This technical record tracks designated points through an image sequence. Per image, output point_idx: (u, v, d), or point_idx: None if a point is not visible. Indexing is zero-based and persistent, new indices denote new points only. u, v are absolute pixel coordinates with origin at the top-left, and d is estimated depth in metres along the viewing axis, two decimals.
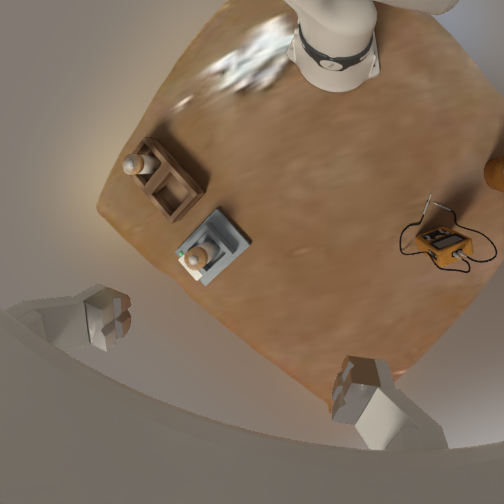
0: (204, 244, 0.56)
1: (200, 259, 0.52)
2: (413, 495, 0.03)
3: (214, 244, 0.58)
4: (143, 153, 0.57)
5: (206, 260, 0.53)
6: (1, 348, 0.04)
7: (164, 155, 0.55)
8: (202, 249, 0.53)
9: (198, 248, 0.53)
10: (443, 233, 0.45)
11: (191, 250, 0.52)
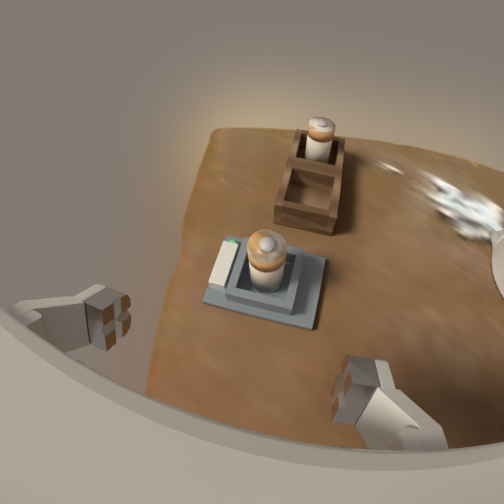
0: None
1: (276, 255, 0.29)
2: (413, 495, 0.03)
3: None
4: None
5: (275, 267, 0.29)
6: (1, 348, 0.04)
7: None
8: None
9: None
10: None
11: (279, 235, 0.30)
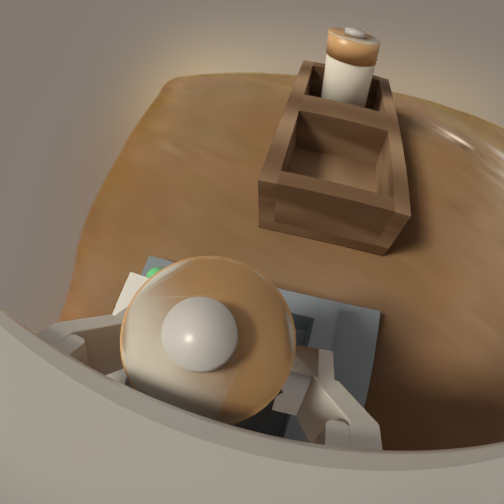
0: None
1: (242, 387, 0.06)
2: (413, 495, 0.03)
3: None
4: None
5: None
6: (1, 348, 0.04)
7: None
8: None
9: None
10: None
11: (261, 285, 0.07)
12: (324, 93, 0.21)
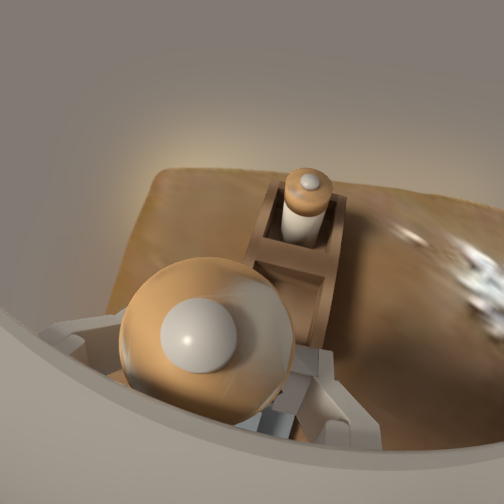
0: None
1: (241, 389, 0.06)
2: (413, 495, 0.03)
3: None
4: None
5: None
6: (1, 348, 0.04)
7: None
8: None
9: None
10: None
11: (261, 287, 0.07)
12: (282, 226, 0.29)
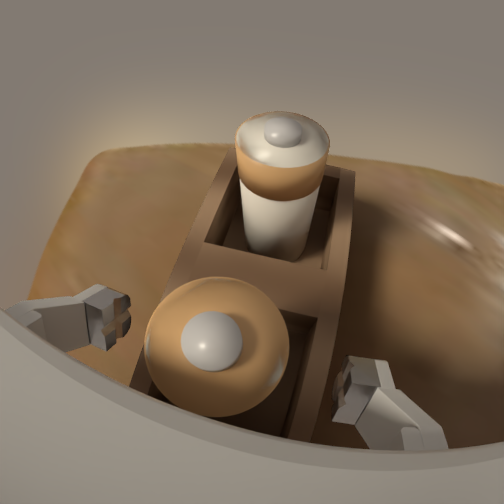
0: None
1: (246, 383, 0.07)
2: (413, 495, 0.03)
3: None
4: None
5: None
6: (1, 348, 0.04)
7: None
8: None
9: None
10: None
11: (261, 301, 0.08)
12: (244, 221, 0.16)
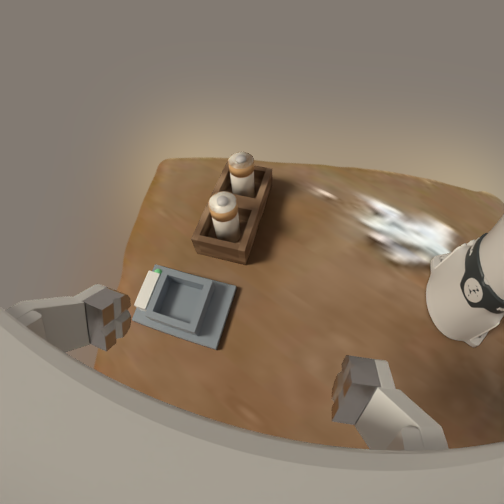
0: None
1: (228, 208, 0.40)
2: (413, 495, 0.03)
3: (239, 232, 0.46)
4: None
5: (228, 217, 0.41)
6: (1, 348, 0.04)
7: (263, 197, 0.48)
8: (237, 209, 0.42)
9: None
10: None
11: (232, 195, 0.41)
12: None
